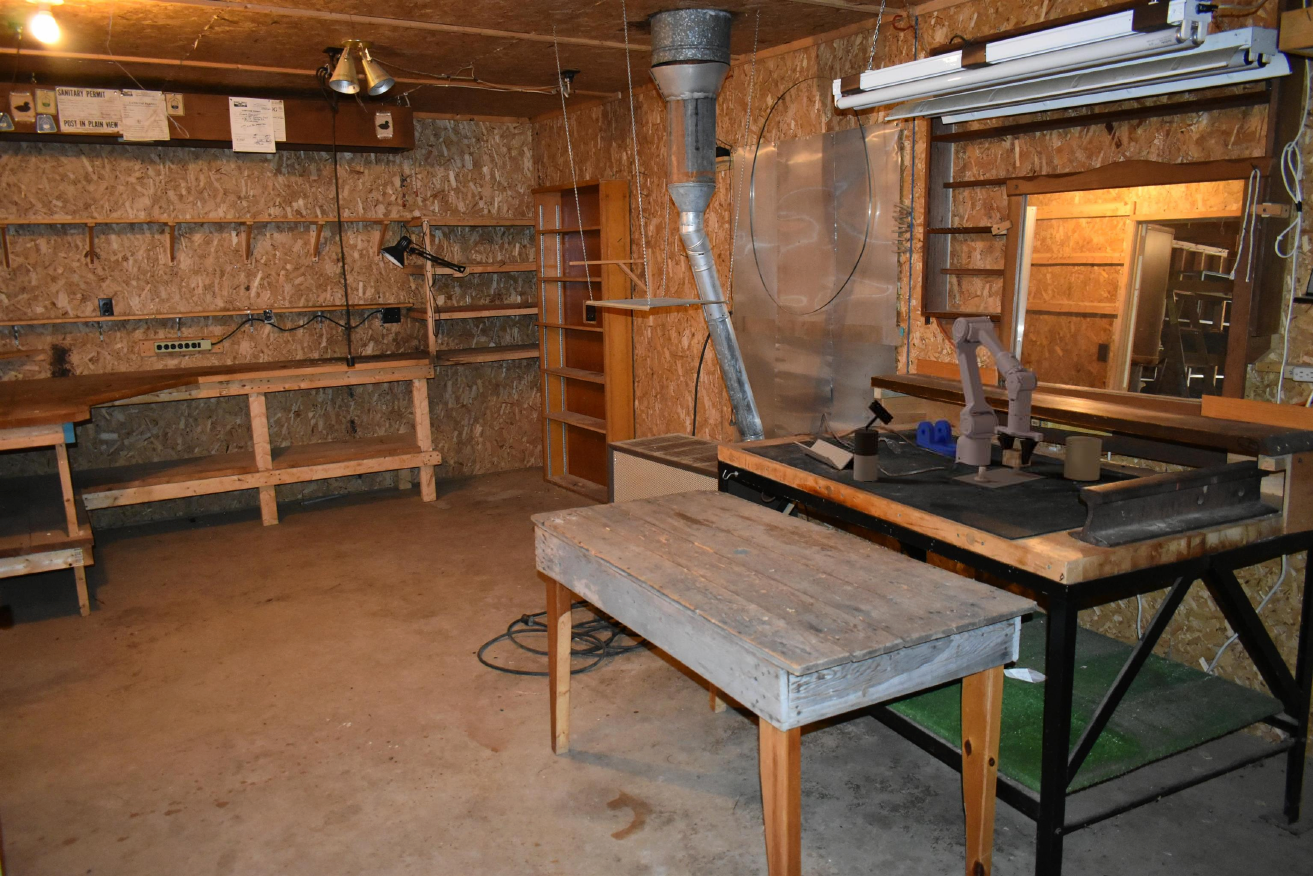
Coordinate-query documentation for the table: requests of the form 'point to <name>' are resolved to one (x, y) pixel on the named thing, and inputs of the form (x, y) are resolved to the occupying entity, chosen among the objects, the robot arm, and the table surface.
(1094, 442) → the can
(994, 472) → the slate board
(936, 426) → the bracket
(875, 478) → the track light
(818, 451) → the beige v-shaped trough
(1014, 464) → the ash collar
